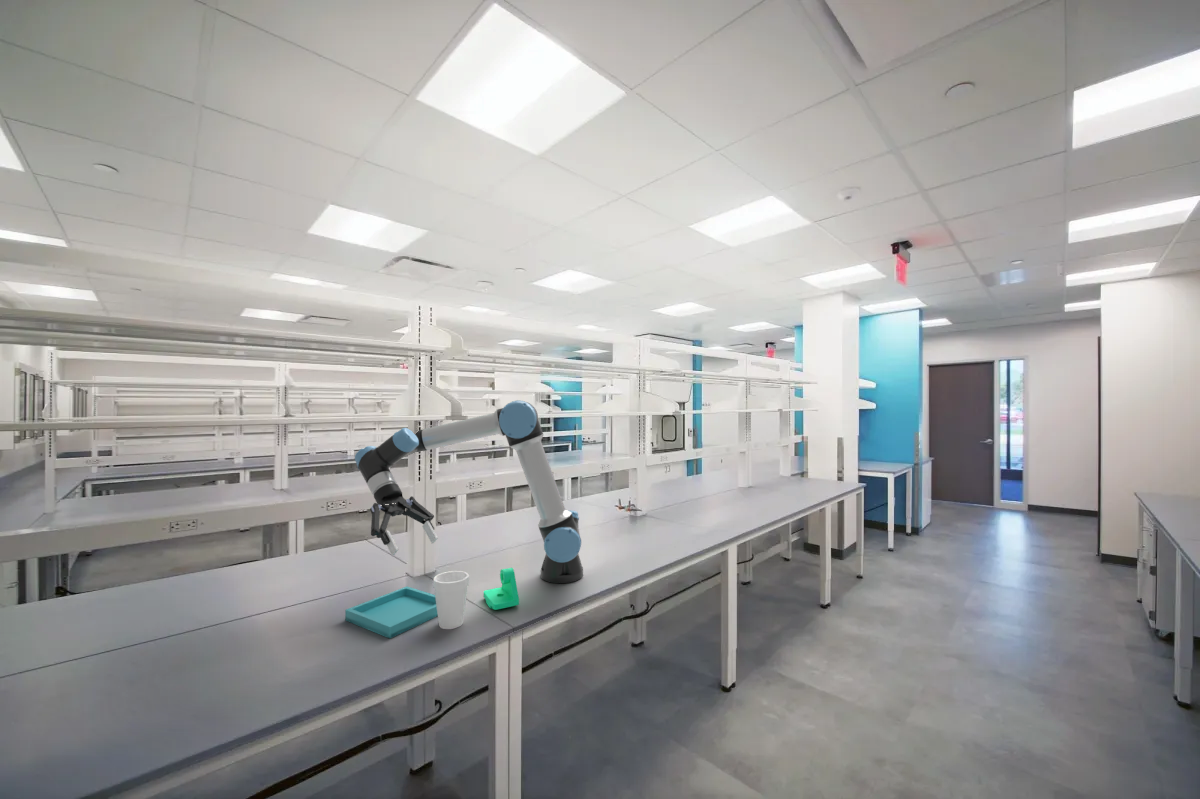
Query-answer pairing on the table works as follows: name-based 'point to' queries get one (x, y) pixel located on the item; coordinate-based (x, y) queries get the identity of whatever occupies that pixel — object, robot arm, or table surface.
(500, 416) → the robot arm
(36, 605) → the table surface
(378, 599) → the teal tray
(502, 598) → the camera mount
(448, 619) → the foam cup
